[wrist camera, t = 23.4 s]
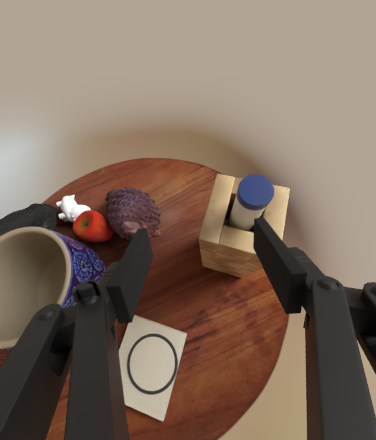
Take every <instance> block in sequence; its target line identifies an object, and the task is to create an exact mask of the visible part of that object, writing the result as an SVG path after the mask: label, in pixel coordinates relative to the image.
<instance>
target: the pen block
mask: <svg viewBox="0 0 376 440" xmlns="http://www.w3.org/2000/svg"><path fill="white" fill-rule="evenodd" d="M241 180H242V179H241V178H234V177H230V176H226V175H221V174H217V176H216V179H215V183H214V186H213V190H212V193H211V196H210V200H209V203H208V207H207V210H206V214H205V217H204V221H203V224H202V227H201V231H200V234H199V238H198V239H199V246H200V252H201V259H202V265H203V267H206V268H210V269H213V270H216V271H220V272H223V273H227V274H230V275H234V276H237V277H240V278H242V277H244V276H246V275H248V274H251V273H253V272H255V271H257V270H259V269H261V268H263V266H262V264H261V262H260V260H259V258H258V256H257V254H256V252H255V250H254V248H253V242H254V225H253V227H252V228H251V230H250V231H249V232H248V231H244V230H240V229H236V228H232V227H228V226H227V225H228V221H229V218H230V215H231V211H232V208H233V205H234V201H235V198H236V195H237V189H238V186H239V183H240V182H241ZM273 186H274V191H275V192H274V197H273V199H272V200H271V202H270V203H269V204H268V206H267V207H266V208H265V209H264V211H263V212H262V214H261V215H260V217H259V218H265V220H266V221H267V222H268V223H269V225H270V226H271V227H272V228H273V230H274V231H275V232H276V234H277V235H278V236H279V237H280V239H281V240H282V237H283V231H284V223H285V218H286V211H287V204H288V198H289V191H290V189H289V188H285V187H280V186H275V185H273Z"/></svg>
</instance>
